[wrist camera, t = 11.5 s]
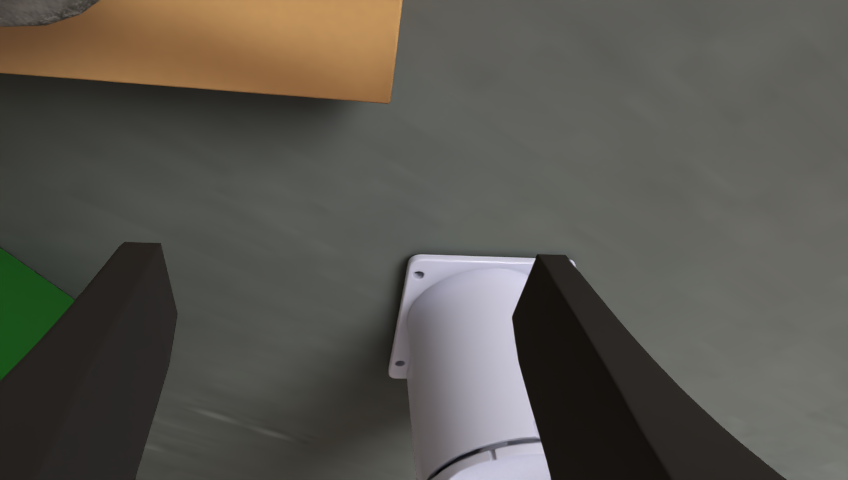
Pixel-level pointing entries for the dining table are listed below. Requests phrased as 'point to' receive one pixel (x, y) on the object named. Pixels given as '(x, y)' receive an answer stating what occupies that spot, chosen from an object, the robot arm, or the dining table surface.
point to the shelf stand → (220, 46)
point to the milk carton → (25, 310)
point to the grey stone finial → (40, 11)
